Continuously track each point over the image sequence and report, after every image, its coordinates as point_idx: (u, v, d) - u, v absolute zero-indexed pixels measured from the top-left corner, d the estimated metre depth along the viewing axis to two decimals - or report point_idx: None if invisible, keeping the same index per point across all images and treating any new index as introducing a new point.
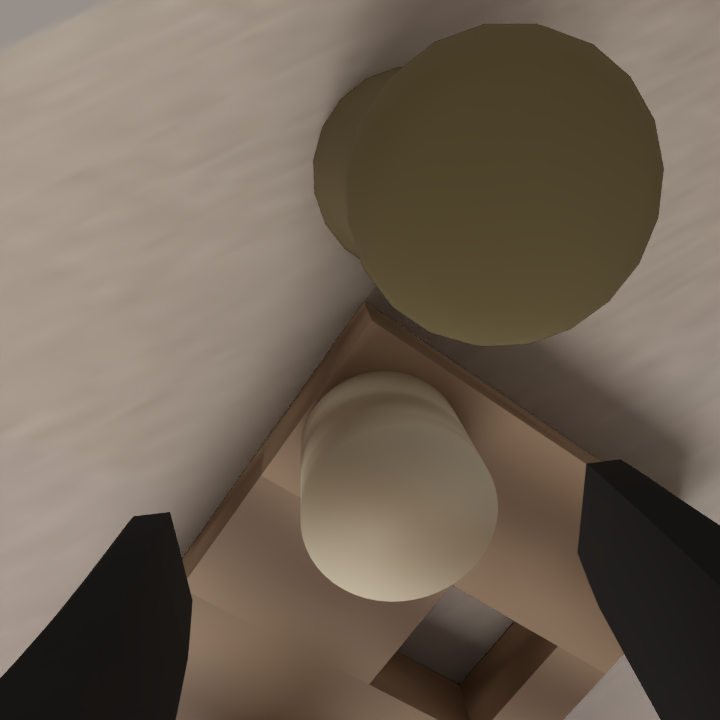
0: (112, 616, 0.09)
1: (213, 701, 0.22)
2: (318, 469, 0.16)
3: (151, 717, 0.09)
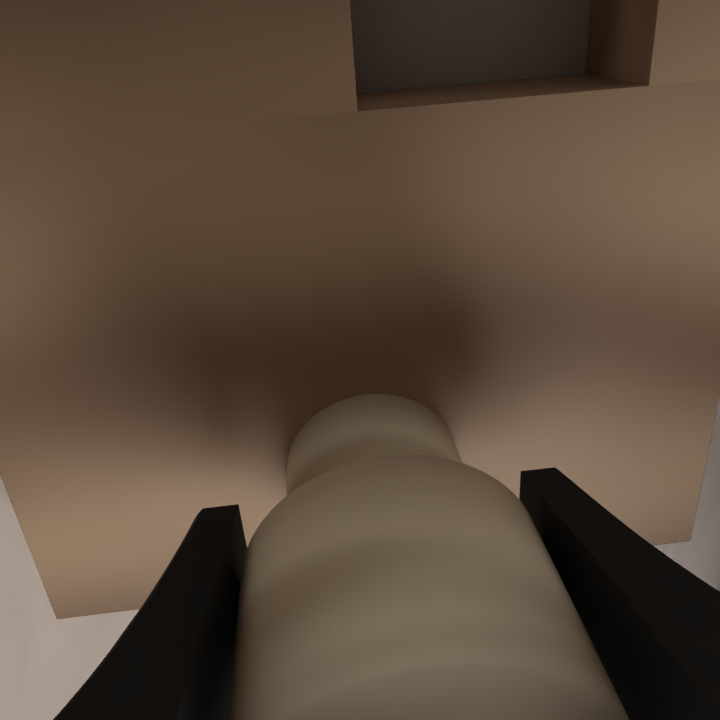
0: (201, 605, 0.09)
1: (137, 329, 0.12)
2: None
3: None
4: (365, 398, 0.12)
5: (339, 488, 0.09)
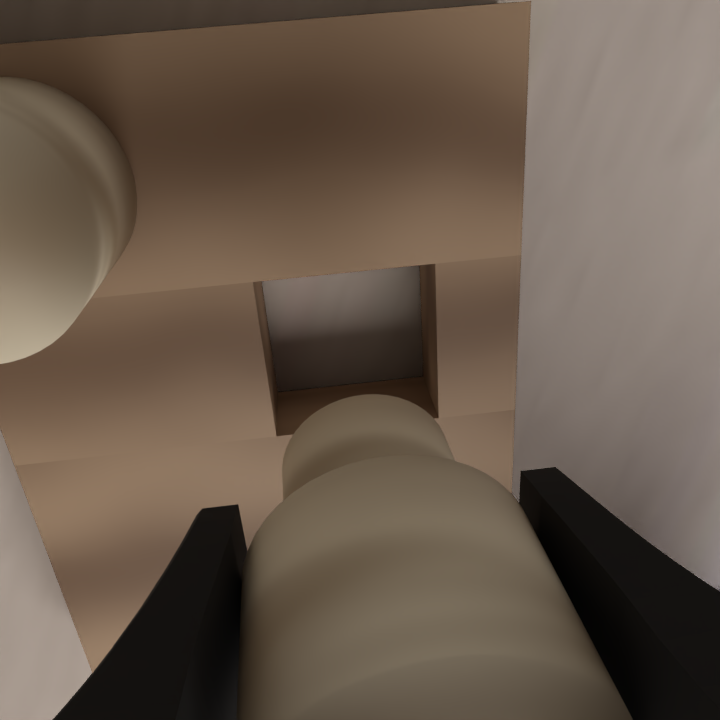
0: (201, 605, 0.09)
1: (154, 541, 0.20)
2: None
3: (231, 707, 0.09)
4: (363, 398, 0.13)
5: (347, 486, 0.09)
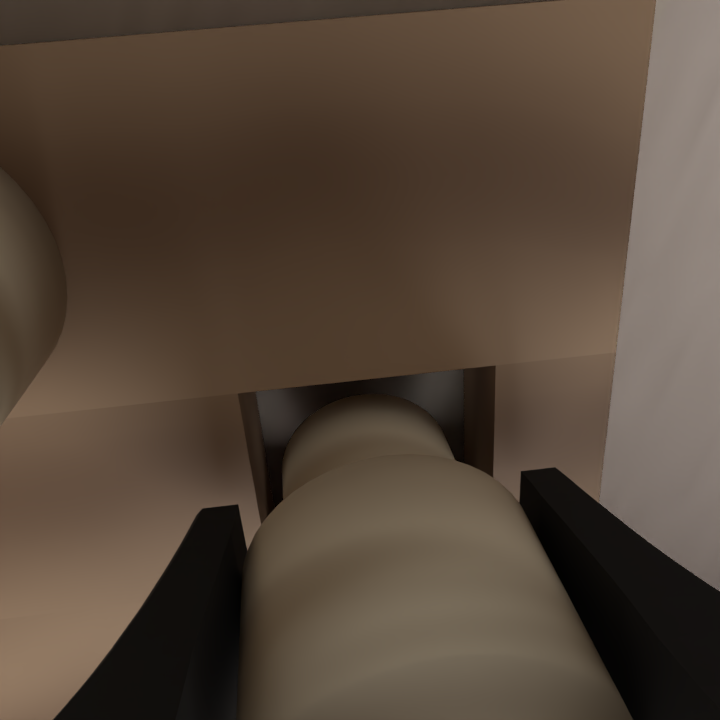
0: (201, 605, 0.09)
1: None
2: None
3: (231, 707, 0.09)
4: (363, 398, 0.13)
5: (346, 485, 0.09)
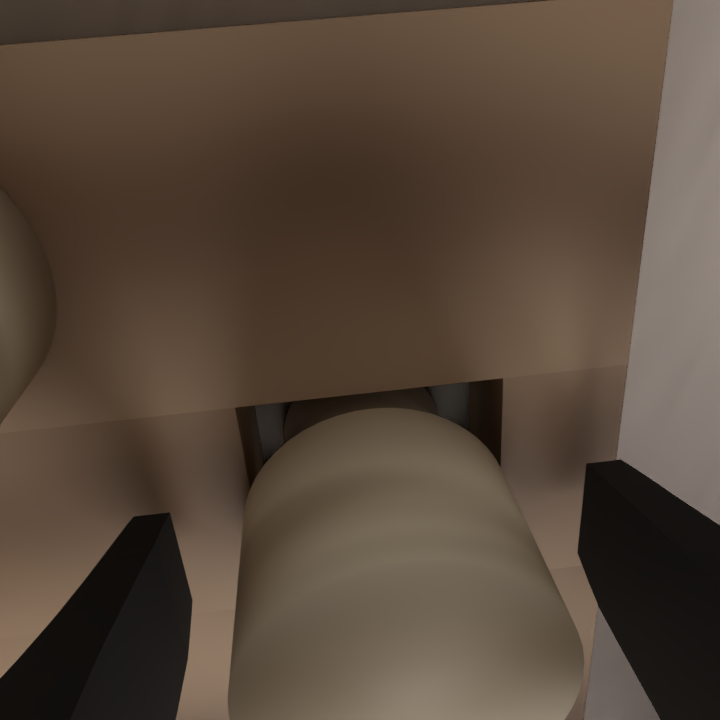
0: (112, 616, 0.09)
1: None
2: None
3: (151, 717, 0.09)
4: None
5: (335, 433, 0.11)
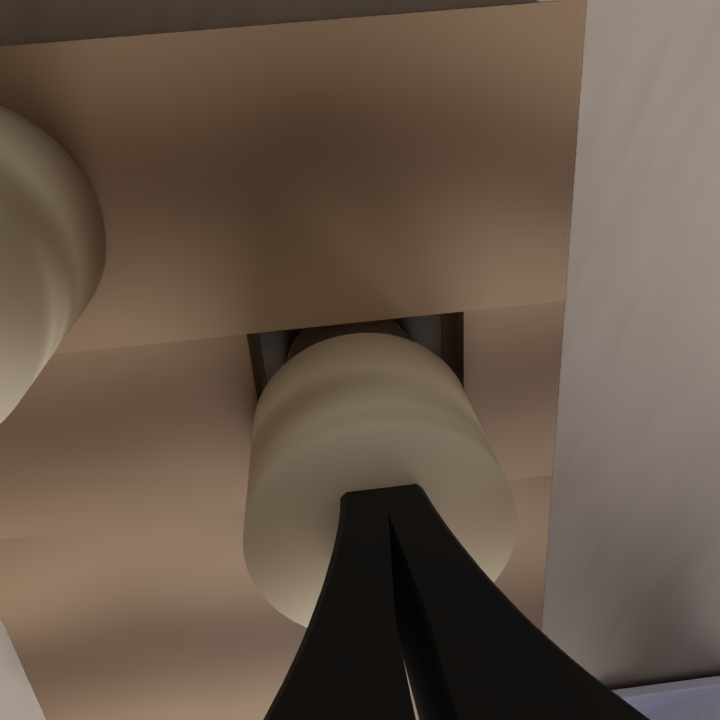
0: (387, 582, 0.09)
1: (134, 623, 0.17)
2: None
3: None
4: None
5: (326, 350, 0.13)
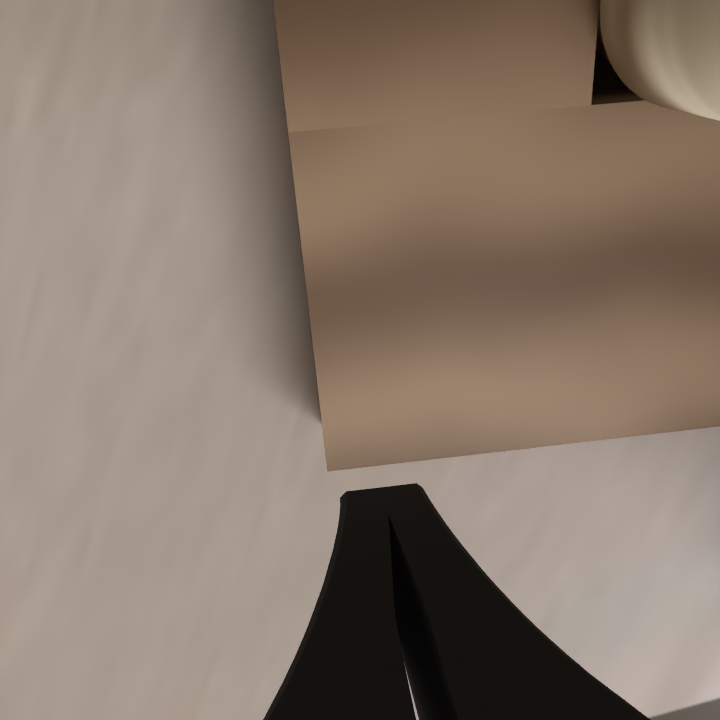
0: (387, 582, 0.09)
1: (425, 252, 0.17)
2: None
3: None
4: None
5: None
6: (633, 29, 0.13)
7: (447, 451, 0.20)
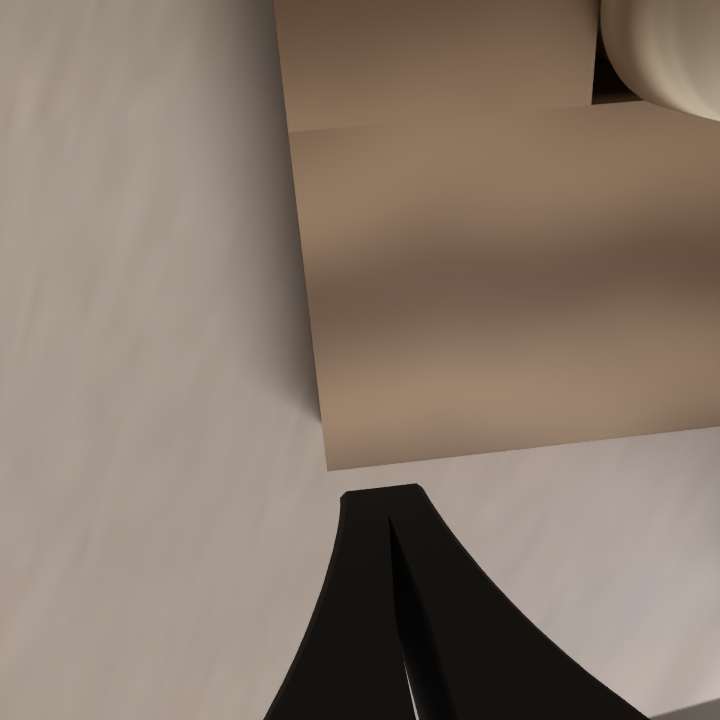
0: (387, 582, 0.09)
1: (425, 252, 0.17)
2: None
3: None
4: None
5: None
6: (634, 30, 0.13)
7: (447, 451, 0.20)
